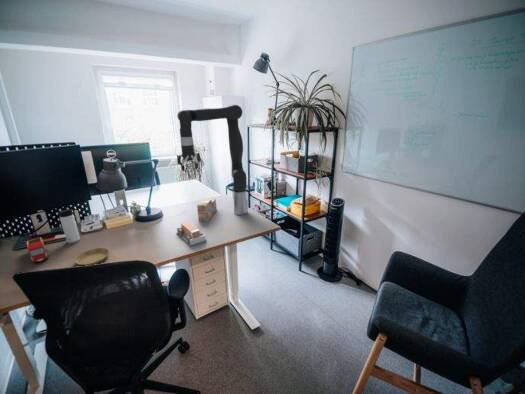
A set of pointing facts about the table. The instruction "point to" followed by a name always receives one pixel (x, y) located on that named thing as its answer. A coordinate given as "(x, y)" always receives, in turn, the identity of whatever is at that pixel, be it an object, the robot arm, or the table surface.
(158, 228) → the table surface
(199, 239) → the cradle jig
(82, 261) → the plant saucer
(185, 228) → the peach lotion tube
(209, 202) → the stack of blocks
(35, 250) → the toy truck
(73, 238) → the travel mug
